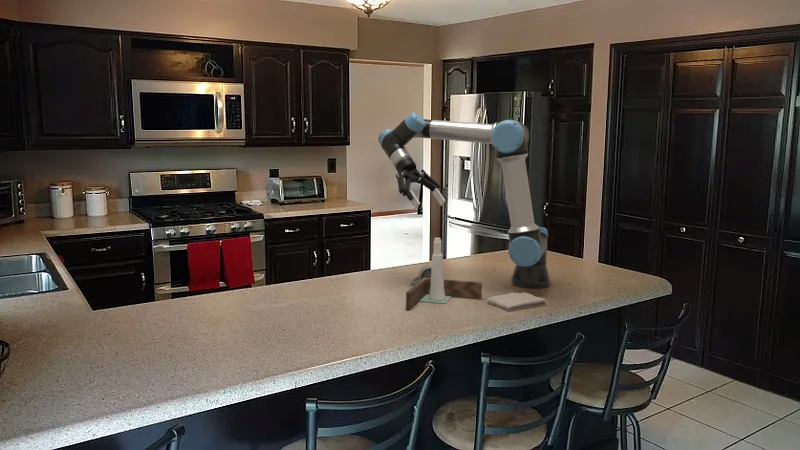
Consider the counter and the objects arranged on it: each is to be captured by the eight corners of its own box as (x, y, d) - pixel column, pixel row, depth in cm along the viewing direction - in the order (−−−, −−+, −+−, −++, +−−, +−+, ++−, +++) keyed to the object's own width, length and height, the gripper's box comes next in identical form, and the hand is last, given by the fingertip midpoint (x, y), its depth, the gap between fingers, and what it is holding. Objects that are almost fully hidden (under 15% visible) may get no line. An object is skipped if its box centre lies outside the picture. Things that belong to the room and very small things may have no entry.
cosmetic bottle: (433, 301, 217) (434, 240, 213) (425, 297, 222) (426, 237, 219) (448, 299, 219) (449, 238, 216) (440, 295, 225) (441, 236, 221)
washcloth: (548, 305, 214) (548, 297, 214) (509, 313, 205) (509, 304, 205) (524, 298, 224) (524, 289, 224) (486, 305, 215) (486, 296, 215)
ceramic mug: (436, 281, 246) (436, 263, 245) (439, 286, 238) (439, 267, 237) (410, 282, 245) (409, 264, 244) (412, 287, 237) (412, 268, 236)
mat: (451, 297, 223) (451, 296, 223) (445, 304, 214) (445, 303, 214) (426, 294, 226) (426, 294, 226) (419, 301, 217) (419, 300, 217)
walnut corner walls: (481, 298, 222) (482, 282, 221) (470, 315, 201) (470, 297, 200) (423, 293, 228) (423, 277, 228) (405, 309, 207) (406, 292, 206)
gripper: (421, 168, 248) (447, 208, 240) (374, 170, 232) (401, 213, 223) (430, 155, 244) (458, 196, 235) (383, 157, 227) (411, 200, 218)
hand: (430, 204), depth 229 cm, fingers open, 13 cm apart
